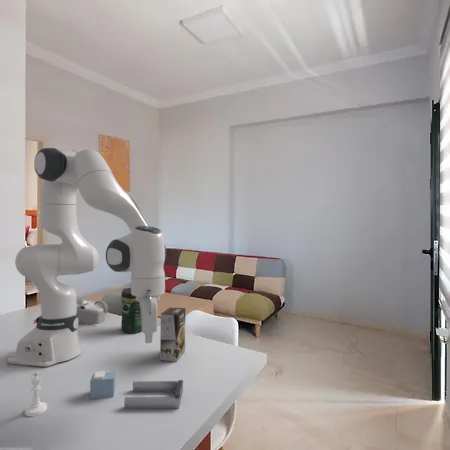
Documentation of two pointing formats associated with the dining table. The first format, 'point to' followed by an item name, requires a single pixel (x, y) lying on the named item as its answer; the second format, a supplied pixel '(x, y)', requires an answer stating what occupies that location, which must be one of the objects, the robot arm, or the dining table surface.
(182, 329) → the coffee box
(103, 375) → the block
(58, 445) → the dining table surface
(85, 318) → the digital camera
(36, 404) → the chess piece
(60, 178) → the robot arm
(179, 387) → the grey u-shaped piece
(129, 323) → the coffee jar
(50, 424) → the dining table surface
